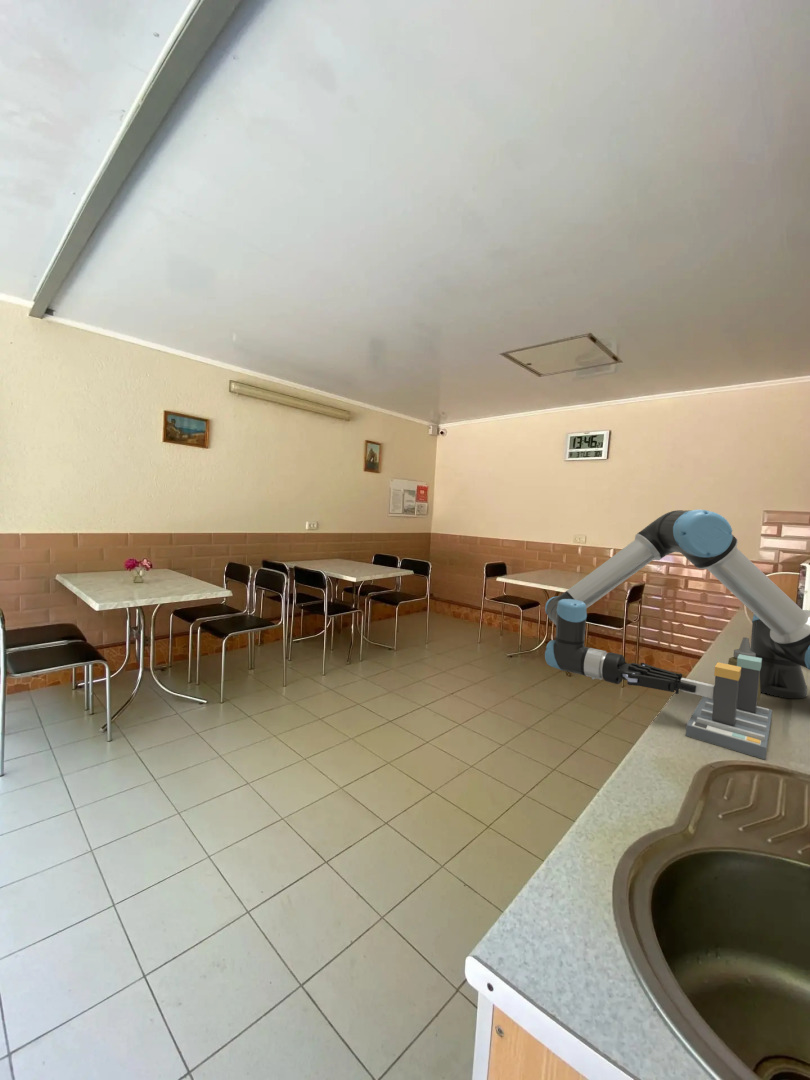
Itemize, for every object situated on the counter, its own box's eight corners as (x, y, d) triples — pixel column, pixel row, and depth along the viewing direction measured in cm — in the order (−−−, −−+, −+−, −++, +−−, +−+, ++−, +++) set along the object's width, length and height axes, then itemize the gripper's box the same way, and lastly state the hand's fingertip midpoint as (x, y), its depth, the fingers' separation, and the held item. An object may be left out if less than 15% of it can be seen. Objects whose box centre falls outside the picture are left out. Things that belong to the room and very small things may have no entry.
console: (703, 702, 121) (704, 689, 120) (771, 719, 112) (772, 705, 111) (685, 735, 102) (686, 720, 102) (765, 759, 93) (766, 743, 92)
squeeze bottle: (754, 703, 122) (760, 636, 120) (763, 714, 114) (769, 644, 113) (718, 696, 125) (723, 632, 124) (725, 708, 118) (730, 639, 117)
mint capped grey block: (734, 705, 113) (739, 654, 112) (757, 711, 110) (761, 658, 109) (733, 711, 109) (737, 658, 109) (756, 717, 107) (760, 662, 106)
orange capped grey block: (713, 717, 106) (717, 662, 105) (736, 723, 103) (741, 667, 102) (710, 723, 102) (714, 666, 101) (734, 730, 99) (739, 671, 99)
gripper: (612, 673, 124) (716, 699, 109) (596, 686, 114) (708, 717, 99) (614, 646, 124) (719, 668, 108) (597, 657, 114) (710, 683, 98)
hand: (713, 691), depth 103 cm, fingers closed
